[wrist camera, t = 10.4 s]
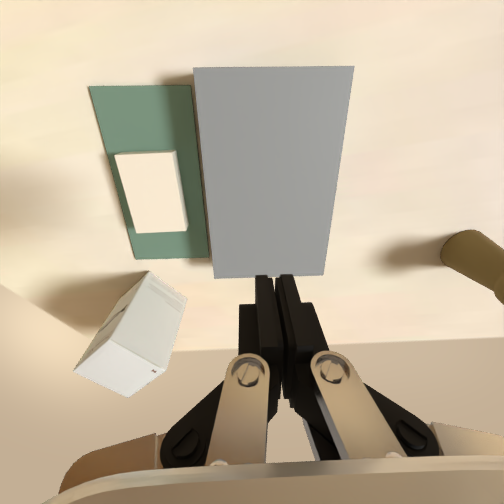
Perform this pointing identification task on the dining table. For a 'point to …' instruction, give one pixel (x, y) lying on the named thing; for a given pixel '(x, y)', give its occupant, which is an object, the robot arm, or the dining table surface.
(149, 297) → the supplement box
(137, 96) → the mat
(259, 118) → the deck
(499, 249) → the cork
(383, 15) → the dining table surface
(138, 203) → the card
